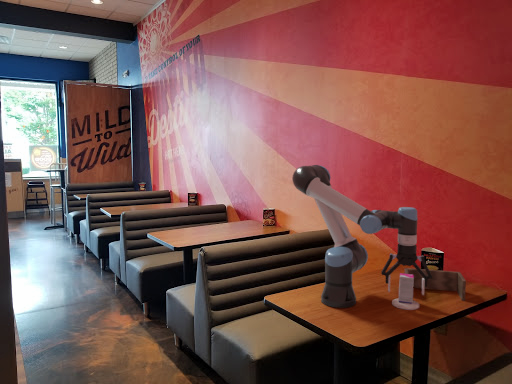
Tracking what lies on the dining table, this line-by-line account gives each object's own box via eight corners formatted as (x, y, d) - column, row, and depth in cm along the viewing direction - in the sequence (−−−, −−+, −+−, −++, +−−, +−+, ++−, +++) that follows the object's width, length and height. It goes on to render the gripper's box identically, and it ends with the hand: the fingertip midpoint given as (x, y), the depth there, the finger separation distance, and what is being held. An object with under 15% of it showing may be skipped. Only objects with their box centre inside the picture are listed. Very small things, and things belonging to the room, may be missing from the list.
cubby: (405, 295, 179) (406, 276, 178) (404, 285, 191) (404, 268, 190) (465, 300, 171) (465, 280, 170) (459, 290, 184) (460, 272, 183)
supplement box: (413, 304, 166) (413, 278, 165) (398, 302, 168) (398, 276, 167) (412, 299, 172) (413, 274, 171) (398, 297, 174) (399, 272, 173)
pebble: (392, 308, 164) (392, 306, 164) (391, 298, 175) (391, 297, 174) (420, 311, 161) (420, 309, 161) (418, 301, 171) (418, 299, 171)
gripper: (376, 244, 165) (375, 292, 167) (440, 247, 158) (438, 298, 160) (376, 240, 172) (375, 286, 174) (438, 243, 165) (436, 292, 167)
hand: (405, 292), depth 167 cm, fingers open, 13 cm apart
